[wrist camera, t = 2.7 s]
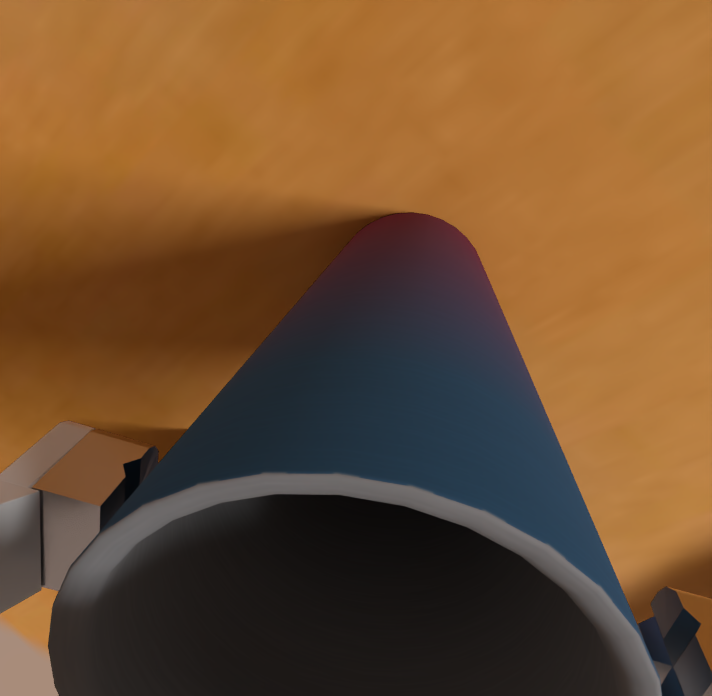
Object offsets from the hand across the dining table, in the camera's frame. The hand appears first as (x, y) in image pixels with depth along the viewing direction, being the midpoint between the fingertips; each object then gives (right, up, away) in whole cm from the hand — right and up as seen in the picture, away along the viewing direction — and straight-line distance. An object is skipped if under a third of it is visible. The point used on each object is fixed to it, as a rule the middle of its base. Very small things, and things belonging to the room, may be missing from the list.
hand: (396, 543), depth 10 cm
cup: (+1, +5, +11) cm, 12 cm away
